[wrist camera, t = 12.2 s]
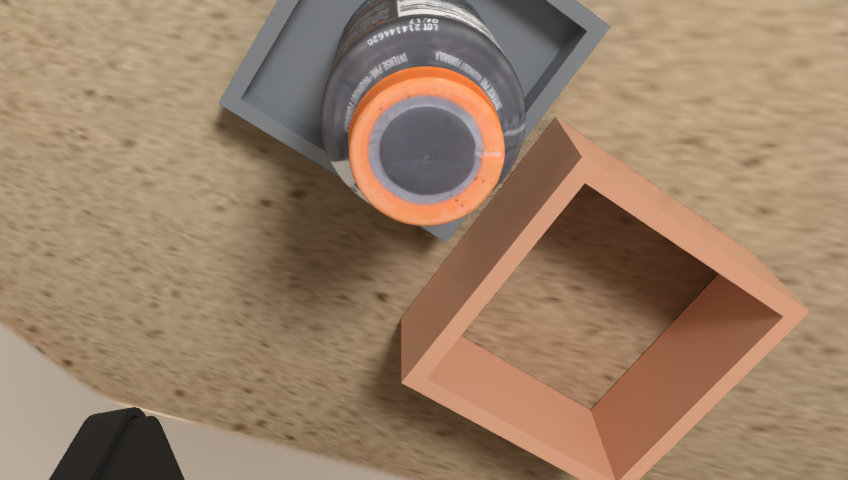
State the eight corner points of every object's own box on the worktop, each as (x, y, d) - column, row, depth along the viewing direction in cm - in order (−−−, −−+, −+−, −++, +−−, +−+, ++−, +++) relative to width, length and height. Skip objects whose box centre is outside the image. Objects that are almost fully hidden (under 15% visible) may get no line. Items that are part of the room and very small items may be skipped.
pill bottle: (381, 158, 31) (372, 296, 21) (310, 23, 29) (261, 103, 18) (517, 96, 30) (577, 208, 20) (455, -49, 28) (488, -8, 17)
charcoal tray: (597, 17, 29) (610, 26, 28) (444, 222, 33) (446, 242, 31) (370, -154, 27) (368, -156, 25) (229, 90, 30) (218, 103, 28)
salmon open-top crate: (754, 254, 34) (809, 312, 29) (592, 426, 38) (618, 499, 33) (555, 116, 31) (582, 156, 26) (401, 317, 35) (401, 382, 30)
